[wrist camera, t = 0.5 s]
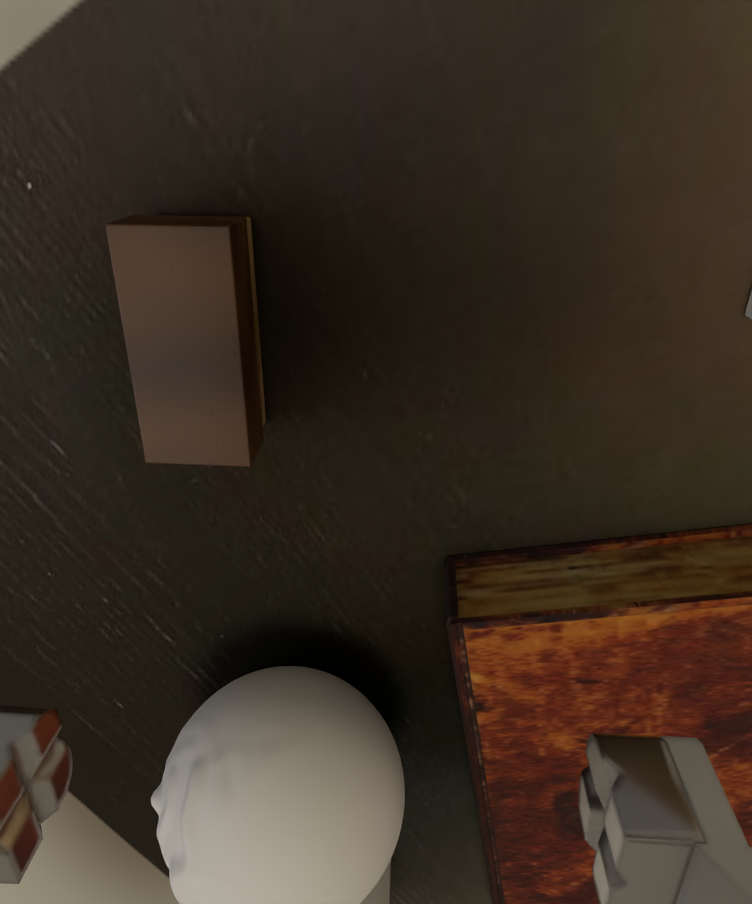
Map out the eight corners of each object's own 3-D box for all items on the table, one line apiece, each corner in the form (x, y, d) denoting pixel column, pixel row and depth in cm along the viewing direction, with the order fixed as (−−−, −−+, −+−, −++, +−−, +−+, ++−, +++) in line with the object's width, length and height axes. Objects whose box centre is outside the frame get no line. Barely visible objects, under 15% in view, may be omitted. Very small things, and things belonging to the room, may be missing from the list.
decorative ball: (191, 610, 36) (93, 819, 25) (412, 625, 35) (408, 844, 25) (210, 759, 41) (136, 983, 31) (402, 774, 41) (394, 1006, 30)
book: (442, 556, 33) (445, 625, 29) (970, 500, 30) (1066, 567, 25) (498, 902, 46) (505, 985, 42) (870, 889, 43) (922, 978, 38)
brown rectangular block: (147, 209, 26) (104, 223, 23) (255, 211, 26) (229, 226, 23) (177, 422, 31) (145, 463, 27) (271, 426, 30) (250, 467, 27)
